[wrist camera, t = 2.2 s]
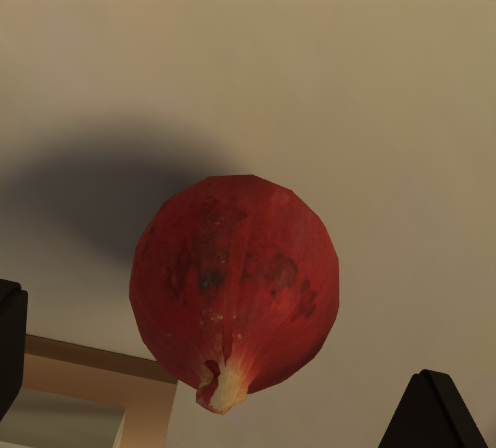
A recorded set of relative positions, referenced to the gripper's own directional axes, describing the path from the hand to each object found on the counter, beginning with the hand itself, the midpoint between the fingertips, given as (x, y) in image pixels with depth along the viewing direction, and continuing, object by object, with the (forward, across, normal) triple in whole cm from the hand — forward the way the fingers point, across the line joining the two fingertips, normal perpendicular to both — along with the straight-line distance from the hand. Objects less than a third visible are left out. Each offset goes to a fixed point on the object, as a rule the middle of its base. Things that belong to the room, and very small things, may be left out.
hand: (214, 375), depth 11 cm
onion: (+7, 0, -1) cm, 7 cm away
